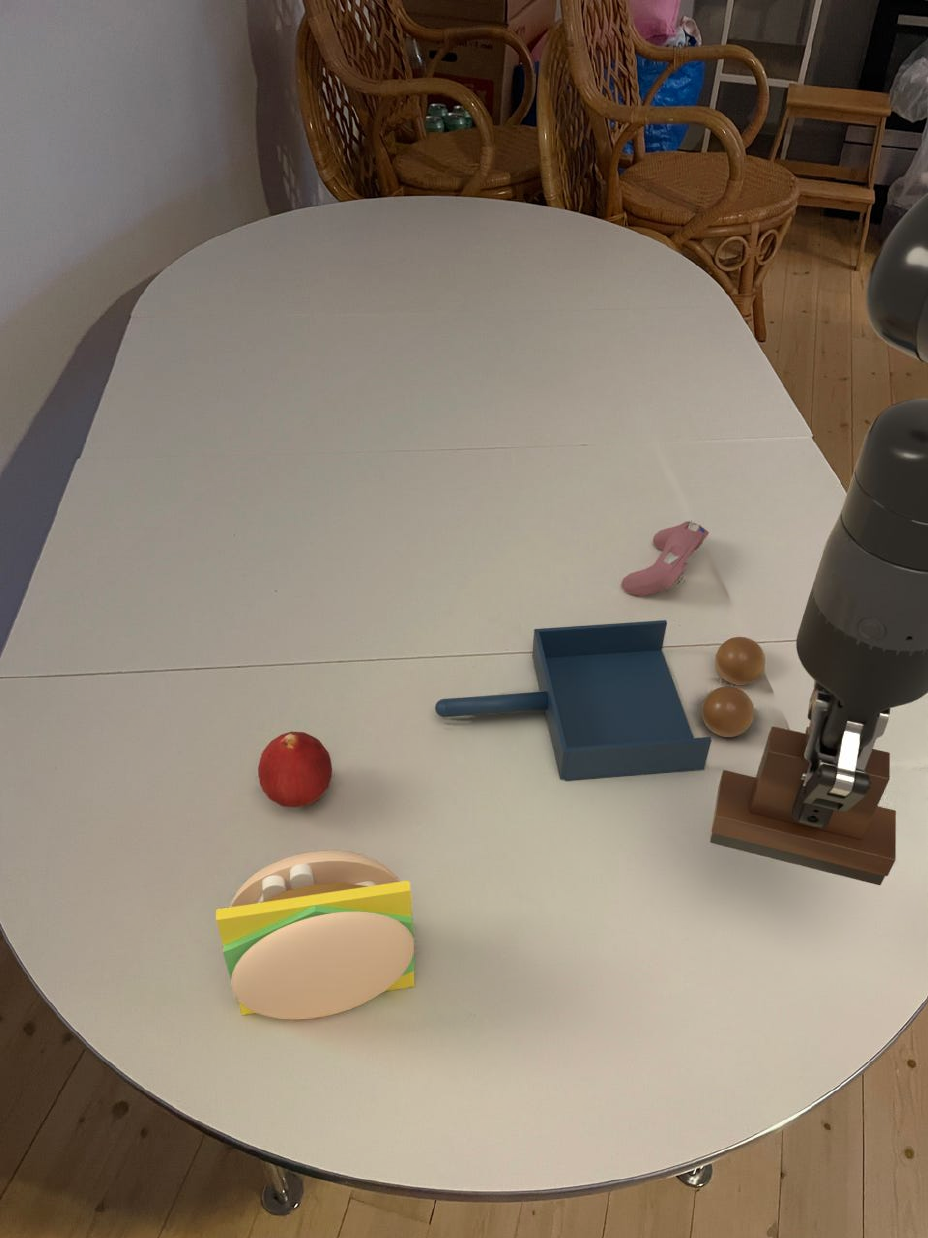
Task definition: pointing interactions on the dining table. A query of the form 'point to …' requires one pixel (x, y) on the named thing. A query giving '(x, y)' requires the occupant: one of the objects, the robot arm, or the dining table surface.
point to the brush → (764, 824)
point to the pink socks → (667, 559)
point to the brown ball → (740, 660)
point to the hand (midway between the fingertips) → (810, 802)
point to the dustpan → (603, 702)
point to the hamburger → (318, 935)
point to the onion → (295, 769)
